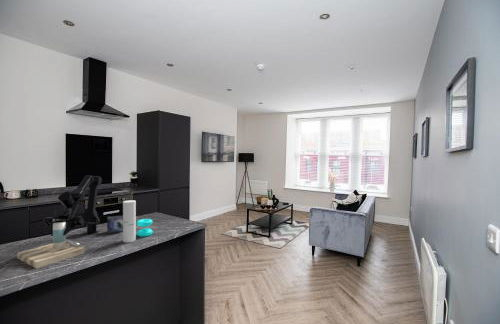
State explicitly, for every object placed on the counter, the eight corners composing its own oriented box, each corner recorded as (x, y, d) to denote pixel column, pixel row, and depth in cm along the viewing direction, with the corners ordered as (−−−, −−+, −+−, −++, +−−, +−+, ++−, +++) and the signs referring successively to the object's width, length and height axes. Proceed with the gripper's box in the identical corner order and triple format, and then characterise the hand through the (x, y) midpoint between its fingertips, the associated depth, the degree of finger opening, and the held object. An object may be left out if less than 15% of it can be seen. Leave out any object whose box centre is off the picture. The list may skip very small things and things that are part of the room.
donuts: (155, 219, 166) (143, 223, 157) (155, 233, 166) (143, 238, 157) (145, 217, 170) (133, 221, 161) (145, 231, 171) (133, 235, 162)
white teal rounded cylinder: (53, 246, 132) (53, 222, 132) (66, 243, 136) (65, 221, 135) (52, 249, 128) (52, 225, 127) (65, 247, 131) (65, 223, 131)
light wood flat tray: (17, 258, 125) (17, 252, 125) (64, 245, 143) (64, 240, 143) (36, 268, 114) (36, 262, 114) (84, 253, 132) (84, 247, 132)
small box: (106, 234, 164) (106, 218, 164) (107, 231, 170) (107, 216, 170) (124, 232, 169) (124, 217, 169) (124, 229, 175) (124, 215, 175)
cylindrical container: (126, 238, 156) (126, 200, 156) (137, 238, 157) (137, 200, 156) (121, 242, 149) (121, 202, 148) (133, 242, 150) (133, 202, 149)
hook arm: (64, 242, 140) (64, 239, 140) (67, 241, 141) (67, 239, 141) (77, 247, 133) (77, 244, 133) (80, 246, 134) (80, 243, 134)
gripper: (44, 203, 133) (30, 228, 123) (81, 202, 136) (70, 227, 126) (54, 213, 141) (41, 238, 131) (88, 213, 144) (79, 237, 134)
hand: (57, 235), depth 130 cm, fingers closed on white teal rounded cylinder, 6 cm apart
